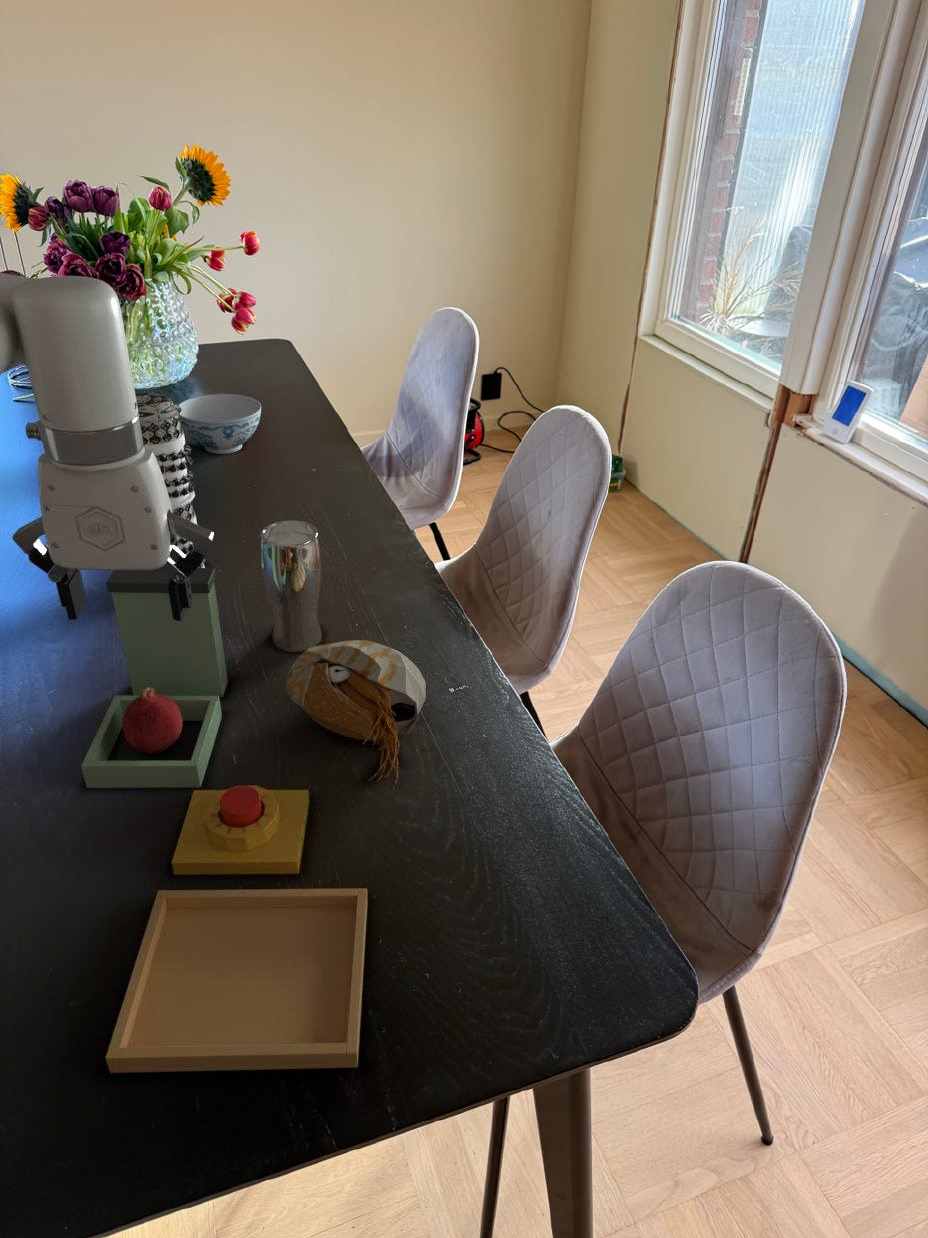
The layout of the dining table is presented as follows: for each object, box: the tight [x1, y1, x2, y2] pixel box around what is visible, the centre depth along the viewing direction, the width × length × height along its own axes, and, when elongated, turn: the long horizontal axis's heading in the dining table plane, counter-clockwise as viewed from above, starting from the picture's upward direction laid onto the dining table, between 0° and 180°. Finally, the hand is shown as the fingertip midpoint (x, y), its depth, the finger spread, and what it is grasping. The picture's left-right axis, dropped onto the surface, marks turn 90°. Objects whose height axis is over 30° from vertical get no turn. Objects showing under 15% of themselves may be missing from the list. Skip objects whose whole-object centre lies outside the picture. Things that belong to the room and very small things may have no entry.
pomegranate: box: [122, 687, 184, 754], centre depth 87 cm, size 6×6×8 cm
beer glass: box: [260, 520, 323, 653], centre depth 104 cm, size 7×7×15 cm
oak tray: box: [105, 888, 368, 1074], centre depth 67 cm, size 18×15×2 cm
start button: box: [220, 785, 262, 828], centre depth 78 cm, size 4×4×2 cm
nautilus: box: [285, 639, 427, 790], centre depth 91 cm, size 8×22×15 cm
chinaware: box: [177, 393, 262, 455], centre depth 157 cm, size 15×15×8 cm
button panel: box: [171, 785, 310, 876], centre depth 79 cm, size 11×9×4 cm
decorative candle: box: [135, 392, 206, 568], centre depth 113 cm, size 9×9×25 cm
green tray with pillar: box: [80, 567, 229, 789], centre depth 88 cm, size 11×18×15 cm, turn 3°
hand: (130, 612), depth 80 cm, fingers open, 9 cm apart
